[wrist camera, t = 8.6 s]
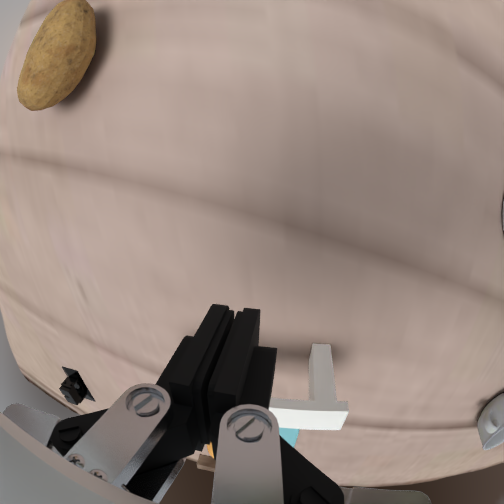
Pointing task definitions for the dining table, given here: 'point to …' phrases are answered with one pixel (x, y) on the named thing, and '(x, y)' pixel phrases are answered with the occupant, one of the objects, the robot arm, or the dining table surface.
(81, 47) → the potato
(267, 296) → the dining table surface
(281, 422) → the bridge
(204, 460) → the stopper
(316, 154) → the dining table surface
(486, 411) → the teacup
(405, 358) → the dining table surface
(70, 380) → the black angular piece
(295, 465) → the robot arm
